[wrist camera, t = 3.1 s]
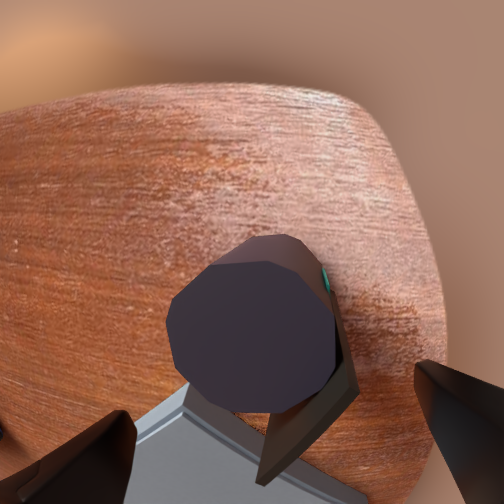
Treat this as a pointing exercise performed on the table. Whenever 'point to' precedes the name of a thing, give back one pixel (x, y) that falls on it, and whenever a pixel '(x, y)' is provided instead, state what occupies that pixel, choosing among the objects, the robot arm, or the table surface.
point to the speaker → (266, 344)
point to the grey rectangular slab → (216, 461)
